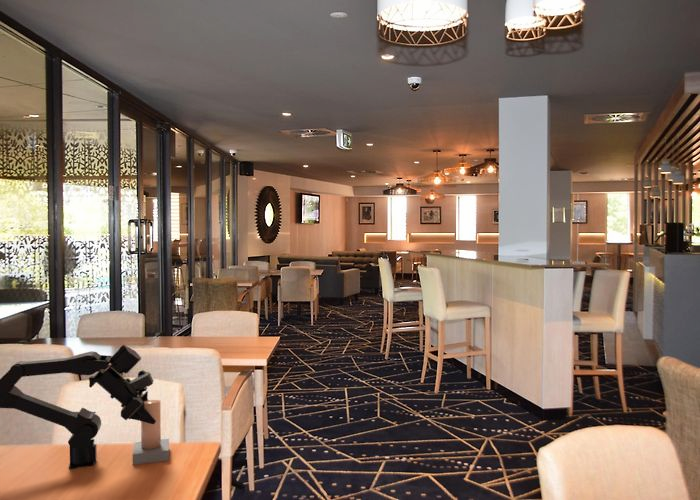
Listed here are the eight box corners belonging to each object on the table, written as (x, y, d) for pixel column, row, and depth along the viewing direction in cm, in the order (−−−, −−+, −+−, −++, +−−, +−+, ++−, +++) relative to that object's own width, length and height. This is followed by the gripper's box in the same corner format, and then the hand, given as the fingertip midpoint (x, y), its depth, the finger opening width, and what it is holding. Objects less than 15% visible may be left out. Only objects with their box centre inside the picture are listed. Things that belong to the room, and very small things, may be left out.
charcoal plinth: (132, 464, 168) (132, 454, 168) (134, 452, 178) (134, 442, 178) (169, 460, 171) (168, 450, 171) (168, 448, 181) (168, 438, 181)
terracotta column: (147, 450, 171) (146, 405, 171) (137, 446, 175) (137, 402, 175) (164, 445, 175) (163, 401, 175) (155, 441, 179) (154, 398, 179)
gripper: (132, 371, 164) (174, 408, 167) (139, 357, 182) (176, 390, 185) (102, 401, 162) (145, 437, 165) (112, 384, 180) (150, 417, 183)
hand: (155, 419), depth 175 cm, fingers open, 7 cm apart
